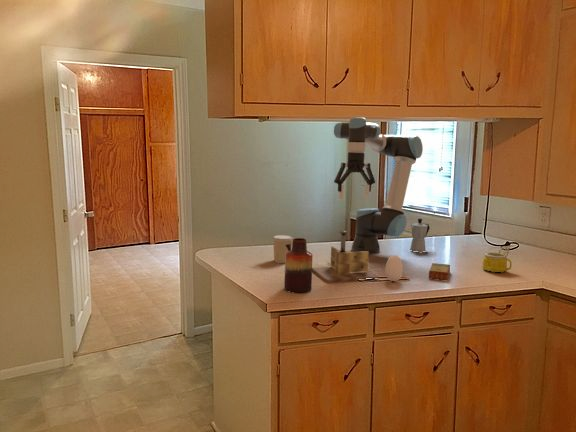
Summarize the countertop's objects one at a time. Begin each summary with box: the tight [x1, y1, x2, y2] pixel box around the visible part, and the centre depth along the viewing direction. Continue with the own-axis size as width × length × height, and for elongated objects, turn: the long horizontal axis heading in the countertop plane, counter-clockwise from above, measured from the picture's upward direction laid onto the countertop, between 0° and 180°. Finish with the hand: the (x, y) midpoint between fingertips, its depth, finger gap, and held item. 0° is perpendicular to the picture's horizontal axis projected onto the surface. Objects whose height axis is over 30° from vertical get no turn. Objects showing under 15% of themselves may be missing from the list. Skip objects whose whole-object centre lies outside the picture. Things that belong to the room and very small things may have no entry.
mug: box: [481, 246, 513, 273], centre depth 240 cm, size 13×11×12 cm
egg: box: [384, 254, 404, 282], centre depth 217 cm, size 7×7×12 cm
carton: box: [428, 262, 451, 281], centre depth 230 cm, size 8×16×4 cm, turn 160°
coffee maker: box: [409, 218, 430, 252], centre depth 278 cm, size 15×9×18 cm, turn 129°
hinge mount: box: [312, 246, 380, 283], centre depth 226 cm, size 24×20×11 cm
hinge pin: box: [339, 229, 348, 252], centre depth 222 cm, size 3×3×11 cm
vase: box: [284, 237, 314, 294], centre depth 202 cm, size 11×11×20 cm
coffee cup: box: [272, 234, 293, 264], centre depth 247 cm, size 9×9×12 cm
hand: (354, 198), depth 235 cm, fingers open, 12 cm apart
